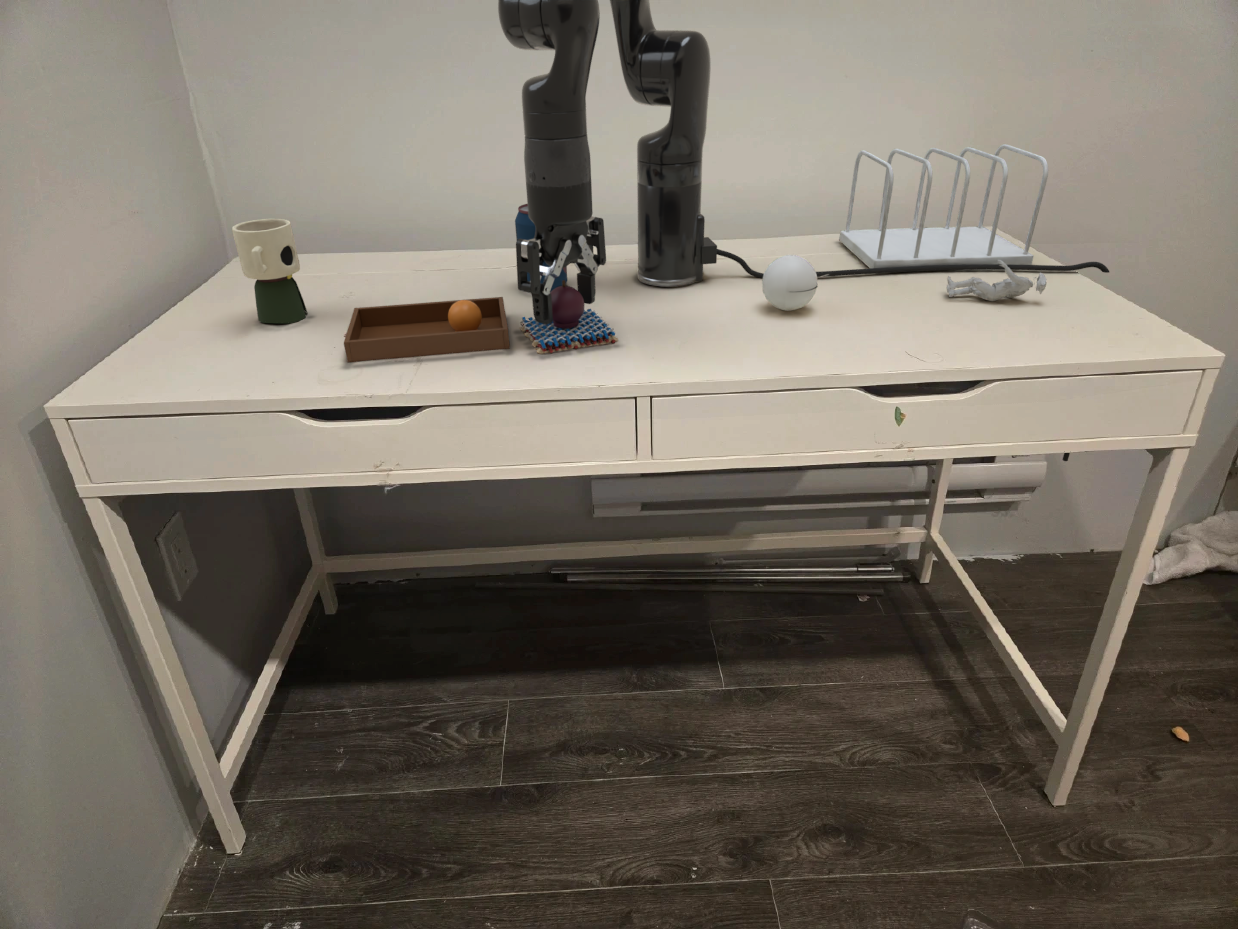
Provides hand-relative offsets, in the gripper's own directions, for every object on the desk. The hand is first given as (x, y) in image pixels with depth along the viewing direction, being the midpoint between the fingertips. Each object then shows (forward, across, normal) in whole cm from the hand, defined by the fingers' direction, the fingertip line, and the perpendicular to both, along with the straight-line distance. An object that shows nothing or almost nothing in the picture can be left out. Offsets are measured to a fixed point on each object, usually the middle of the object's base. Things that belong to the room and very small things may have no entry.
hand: (566, 312), depth 101 cm
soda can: (+4, +13, +15) cm, 20 cm away
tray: (+4, -10, +14) cm, 18 cm away
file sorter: (+4, +60, -27) cm, 66 cm away
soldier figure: (+4, +42, -41) cm, 59 cm away
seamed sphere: (+4, +25, -20) cm, 32 cm away
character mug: (+4, -16, +37) cm, 40 cm away
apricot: (+3, -6, +11) cm, 13 cm away
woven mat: (+4, 0, 0) cm, 4 cm away
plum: (+1, 0, 0) cm, 1 cm away
